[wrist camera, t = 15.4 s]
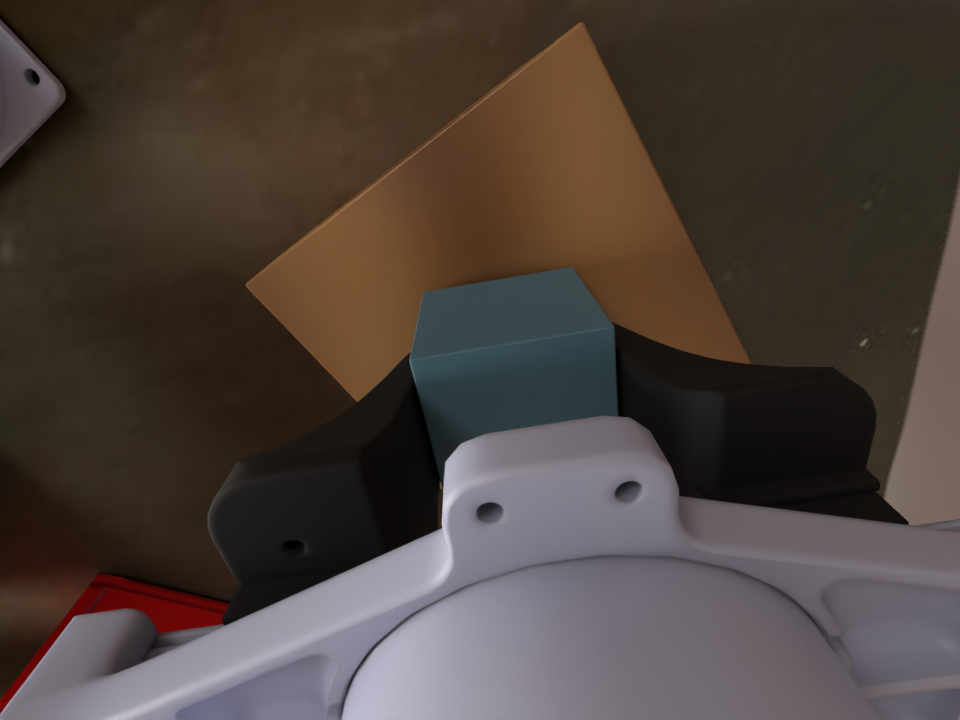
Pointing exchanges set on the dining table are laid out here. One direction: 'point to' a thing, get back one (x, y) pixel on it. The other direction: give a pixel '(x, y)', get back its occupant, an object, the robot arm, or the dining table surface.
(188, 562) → the dining table surface
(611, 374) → the block
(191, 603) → the french fries container
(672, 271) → the box lid
